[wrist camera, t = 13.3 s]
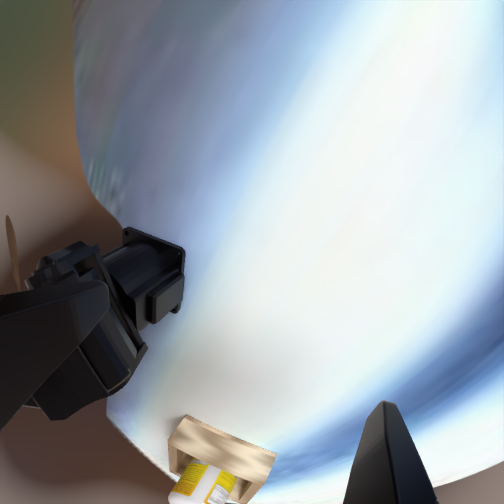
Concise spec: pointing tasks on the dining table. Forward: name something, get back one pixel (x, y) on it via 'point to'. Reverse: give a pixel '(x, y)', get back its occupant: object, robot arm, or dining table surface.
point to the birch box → (220, 456)
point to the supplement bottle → (202, 485)
